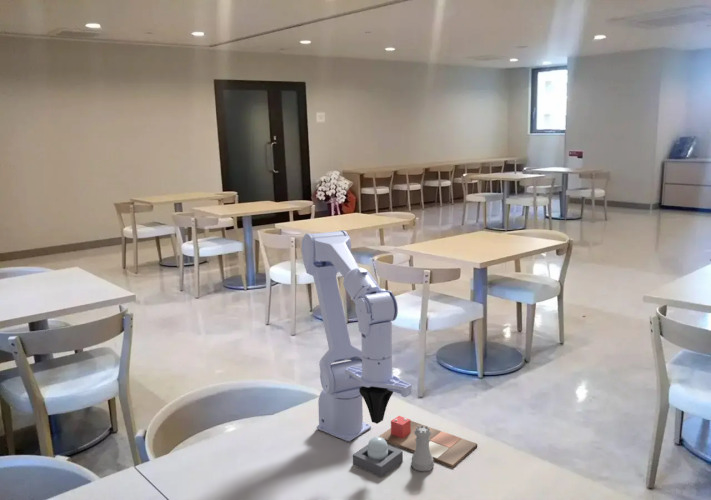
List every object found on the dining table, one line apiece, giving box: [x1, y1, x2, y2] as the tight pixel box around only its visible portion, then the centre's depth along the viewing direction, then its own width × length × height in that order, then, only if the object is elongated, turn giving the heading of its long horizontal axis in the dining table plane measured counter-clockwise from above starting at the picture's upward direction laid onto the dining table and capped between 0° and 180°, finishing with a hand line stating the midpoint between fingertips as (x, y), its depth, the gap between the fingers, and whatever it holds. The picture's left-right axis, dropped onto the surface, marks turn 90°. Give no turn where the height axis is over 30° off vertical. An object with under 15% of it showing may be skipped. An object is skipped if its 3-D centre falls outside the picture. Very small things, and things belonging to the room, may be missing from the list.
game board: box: [377, 420, 478, 469], centre depth 123 cm, size 18×10×1 cm, turn 51°
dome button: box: [367, 436, 389, 462], centre depth 115 cm, size 4×4×4 cm
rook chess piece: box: [410, 424, 435, 472], centre depth 114 cm, size 4×4×8 cm
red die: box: [390, 415, 412, 438], centre depth 126 cm, size 3×3×3 cm
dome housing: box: [352, 444, 404, 478], centre depth 116 cm, size 7×7×2 cm
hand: (377, 420), depth 114 cm, fingers closed
